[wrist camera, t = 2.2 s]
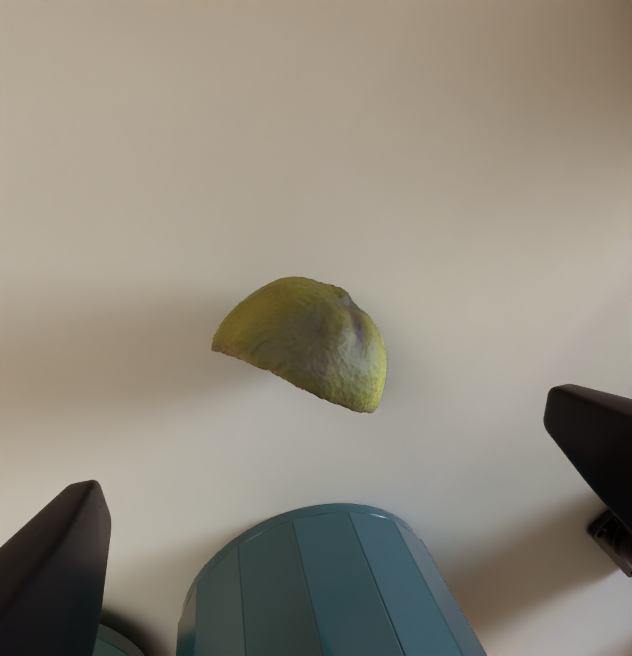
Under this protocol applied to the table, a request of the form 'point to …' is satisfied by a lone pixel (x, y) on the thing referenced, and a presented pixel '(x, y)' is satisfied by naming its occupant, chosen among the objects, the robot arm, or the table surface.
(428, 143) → the table surface
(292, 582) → the pot
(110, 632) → the lid
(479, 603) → the table surface
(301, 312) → the lime
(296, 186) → the table surface
